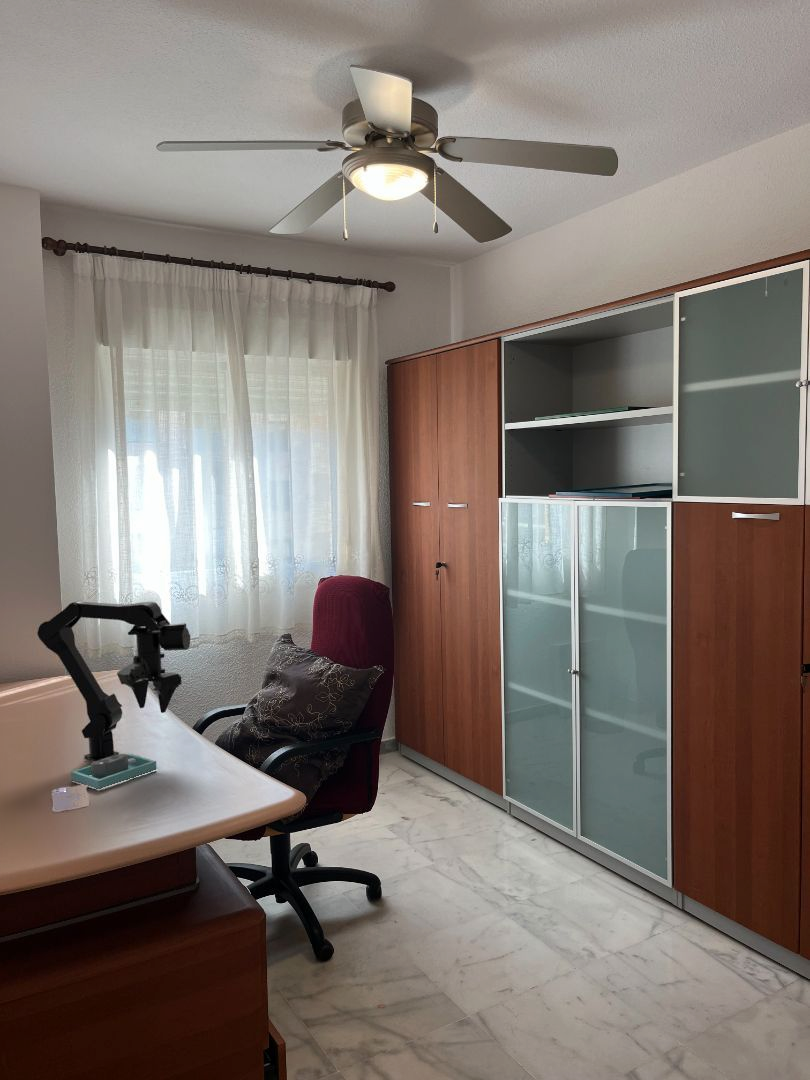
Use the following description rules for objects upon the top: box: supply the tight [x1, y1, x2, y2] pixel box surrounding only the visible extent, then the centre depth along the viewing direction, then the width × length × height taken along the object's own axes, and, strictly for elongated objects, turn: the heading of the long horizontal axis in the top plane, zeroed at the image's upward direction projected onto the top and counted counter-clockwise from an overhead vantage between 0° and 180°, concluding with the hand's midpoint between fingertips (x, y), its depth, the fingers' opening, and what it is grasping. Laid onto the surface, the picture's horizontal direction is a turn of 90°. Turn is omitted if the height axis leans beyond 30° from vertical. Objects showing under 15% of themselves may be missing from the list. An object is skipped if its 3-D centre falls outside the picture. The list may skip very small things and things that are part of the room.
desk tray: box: [70, 752, 158, 789], centre depth 191 cm, size 12×16×2 cm
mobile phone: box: [51, 784, 85, 812], centre depth 178 cm, size 8×1×15 cm
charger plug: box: [90, 753, 136, 779], centre depth 191 cm, size 11×4×4 cm, turn 142°
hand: (152, 710), depth 205 cm, fingers open, 9 cm apart
